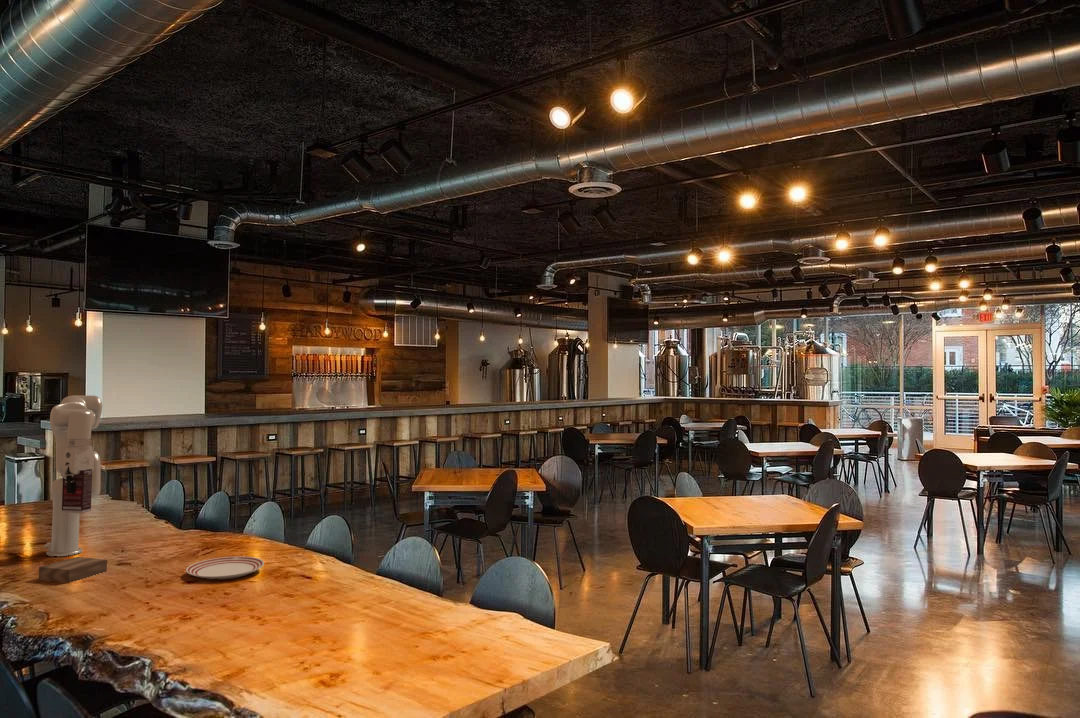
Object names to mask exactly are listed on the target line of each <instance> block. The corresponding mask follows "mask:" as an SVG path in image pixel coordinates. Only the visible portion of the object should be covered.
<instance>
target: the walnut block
mask: <svg viewBox="0 0 1080 718" xmlns="http://www.w3.org/2000/svg"><path fill="white" fill-rule="evenodd" d="M106 571H107V572H108V559H104V558H103V559H102V558H95V557H94V558H93V557H82V556H76V557H73V558H69V559H65V560H61V561H56V562H52V563H50V564H49V563H48V564H44V565H41V566H39V567H38V580H39V581H48V582H56V581H57V582H58V583H65V582H67V583H66V584H69V583H70V582H71V583H73V581H74V582H76V581H77V580H78V581H80V579H81V580H84V579H88V578H91V577H94V576H93V575H95V576H97V575H96V574H98V575H100V574H99V573H101V574H104V573H103V572H105V573H107V572H106ZM90 576H91V577H90ZM87 577H88V578H87ZM83 578H84V579H83ZM71 583H70V584H71Z"/></svg>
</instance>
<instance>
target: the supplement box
mask: <svg viewBox="0 0 1080 718" xmlns="http://www.w3.org/2000/svg"><path fill="white" fill-rule="evenodd" d="M71 474H73V473H71ZM70 477H71V478H72V476H70ZM62 478H63V477H62ZM74 483H76V490H75V493H74V494H71V493H67V483H66V482H65V479H64V478H63V488H62V512H71V513H80V514H83V513H89V512H91V511H92V499H91V493H92V469H84V470H80V474H78V475H76V477H75V481H74Z"/></svg>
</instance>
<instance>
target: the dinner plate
mask: <svg viewBox="0 0 1080 718" xmlns="http://www.w3.org/2000/svg"><path fill="white" fill-rule="evenodd" d="M264 565H265V561H264V560H263V559H261V558H259V557H253V556H243V555H242V556H223V557H214V558H210V559H205V560H202V561H197V562H195V563H193V564H190V565H188V567H187V568H186V569H185V573H187V574H188V575H190V576H194V577H197V578H200V579H201V578H202V579H204V578H206V579H205V580H213V579H220V580H230V579H236V578H242V577H245V576H247V575H249V574H252V573H255V572H257V571H258V570H260V569H261V568H262V567H264Z"/></svg>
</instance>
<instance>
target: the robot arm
mask: <svg viewBox="0 0 1080 718" xmlns="http://www.w3.org/2000/svg"><path fill="white" fill-rule="evenodd" d="M102 412H103V403H102V400H101V398H100V397H99V396H97V395H87V394H86V395H84V394H83V395H81V394H80V395H77V394H76V395H75V394H74V395H69V396H65V397H64V398H63V399H62V400H61V402H60V403H59V404H57V405H55V406H53V407H52V409H51V411H50V416H49V425H50V429H51V431H52V434H53V436H54V438H55V442H56V445H55V448H56V449H55V450H56V451H55V452H56V453H55V468H56V469H55V470H56V472H57V473H58V474H60V478H57V479H55V480H54V481H52V483H51V485H50V486H51V487H50V491H51V499H52V521H51V542H48V541H47V543H46V544H44V546H43V547H44V548H45V549H48V551H46V556H47V555H48V556H47V557H54V556H57V557H66V556H67V557H69V556H73V555H74V554H75V555H78V553H79V554H81V553H82V552H83V548H82V547H79V544H80V543H79V541H80V540H79V537H80V517H81V515H80V514H81V513H71V512H62V488H63V478H64V479H65V482H66V483H67V493H71V494H74V493H75V490H76V483H74V481H75V477H76V475H78V474H80V470H84V469H92V493H91V500H92V499H96V498H97V497H99V496H100V495H101V494H100V493H101V483H102V482H101V481H102V480H101V475H102V474H101V464H102V462H101V456H100V453H98V452H97V451H95V450H93V446H92V445H91V444H92V443H91V442H92V430H94V429H96V428H98V427H99V425H100V421H101V416H102ZM71 473H73V474H71ZM70 476H72V478H71V477H70ZM68 555H69V556H68Z"/></svg>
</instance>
